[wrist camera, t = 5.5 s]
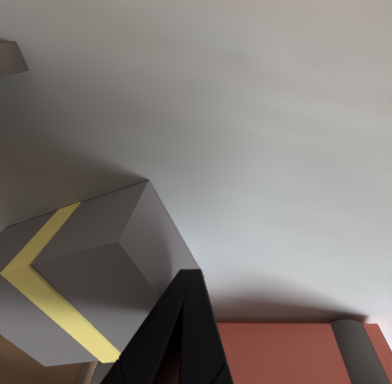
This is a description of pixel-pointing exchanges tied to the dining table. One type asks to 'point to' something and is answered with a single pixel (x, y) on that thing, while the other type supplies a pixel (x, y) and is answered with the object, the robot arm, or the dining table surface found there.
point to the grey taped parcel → (87, 275)
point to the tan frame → (4, 349)
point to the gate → (301, 353)
